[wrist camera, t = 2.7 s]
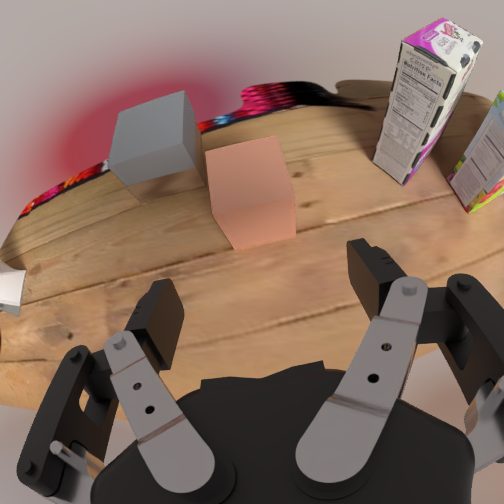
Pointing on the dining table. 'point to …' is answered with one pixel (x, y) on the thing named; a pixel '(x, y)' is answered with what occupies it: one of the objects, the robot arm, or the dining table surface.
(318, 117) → the dining table surface
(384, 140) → the candy bar box
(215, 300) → the dining table surface
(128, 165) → the gray block
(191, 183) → the walnut block
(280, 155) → the salmon orange block
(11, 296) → the twisted tower model
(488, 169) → the snack box
